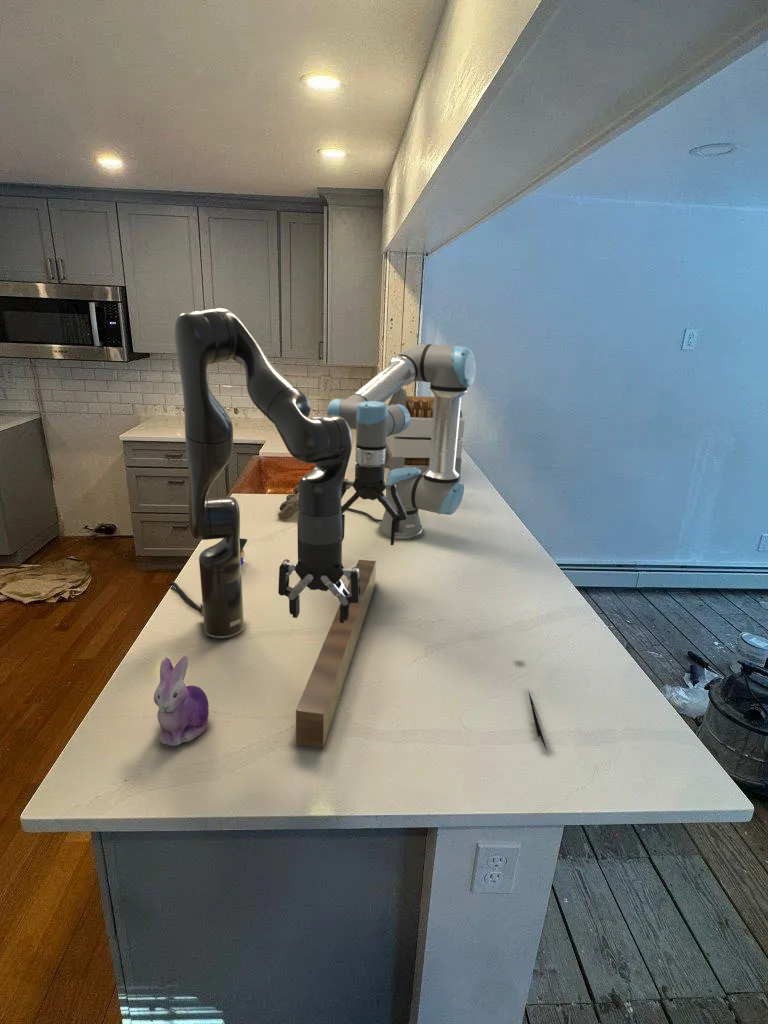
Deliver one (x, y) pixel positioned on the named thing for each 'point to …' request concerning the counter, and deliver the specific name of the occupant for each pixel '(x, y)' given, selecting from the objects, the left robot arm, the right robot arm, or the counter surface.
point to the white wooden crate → (416, 434)
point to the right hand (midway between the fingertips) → (367, 541)
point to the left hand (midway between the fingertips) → (319, 618)
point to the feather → (536, 721)
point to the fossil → (290, 505)
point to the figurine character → (242, 544)
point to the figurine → (179, 705)
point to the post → (333, 666)
